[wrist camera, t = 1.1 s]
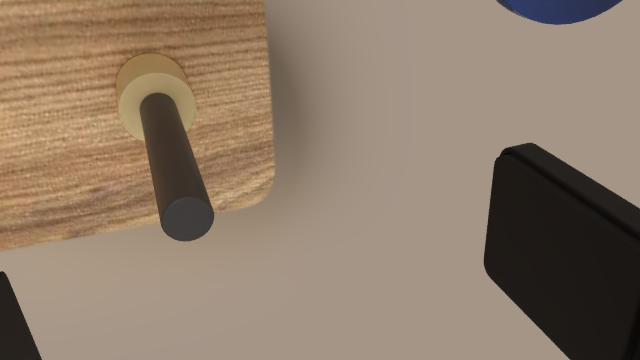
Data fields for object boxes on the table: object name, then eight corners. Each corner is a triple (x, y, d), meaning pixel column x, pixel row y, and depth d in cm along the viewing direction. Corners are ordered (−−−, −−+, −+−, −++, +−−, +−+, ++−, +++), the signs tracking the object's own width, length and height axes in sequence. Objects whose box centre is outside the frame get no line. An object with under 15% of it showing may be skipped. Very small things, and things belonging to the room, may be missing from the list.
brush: (163, 40, 34) (208, 149, 20) (199, 97, 36) (261, 229, 23) (100, 75, 33) (105, 209, 20) (141, 130, 36) (169, 283, 23)
